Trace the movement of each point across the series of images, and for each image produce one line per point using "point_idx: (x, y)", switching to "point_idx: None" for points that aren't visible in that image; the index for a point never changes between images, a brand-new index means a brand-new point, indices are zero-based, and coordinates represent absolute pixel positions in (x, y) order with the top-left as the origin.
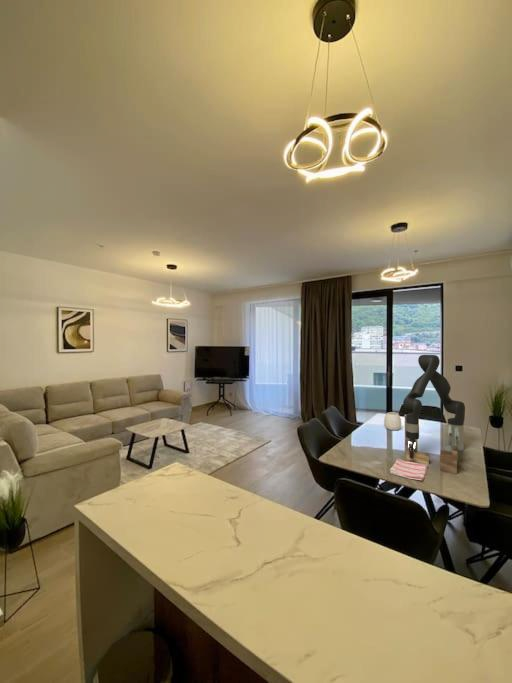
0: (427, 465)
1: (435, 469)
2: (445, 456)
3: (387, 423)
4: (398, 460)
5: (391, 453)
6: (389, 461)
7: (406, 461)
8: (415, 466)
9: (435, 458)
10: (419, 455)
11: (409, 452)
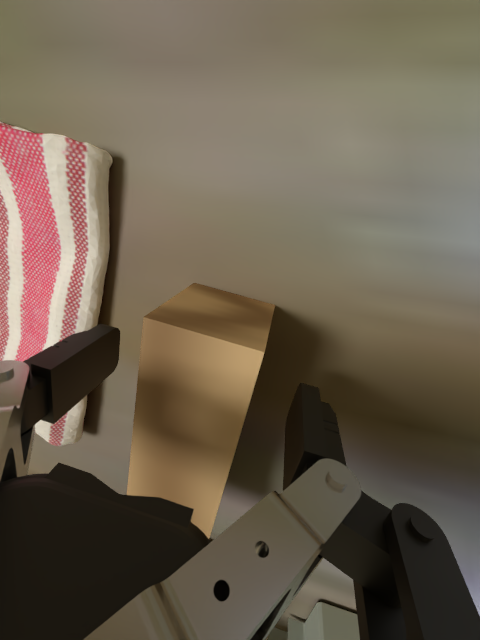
0: (49, 442)
1: (79, 468)
2: None
3: None
4: (8, 153)
5: (442, 45)
6: (30, 11)
7: (83, 267)
8: (8, 336)
9: None
10: (134, 460)
11: (163, 363)
